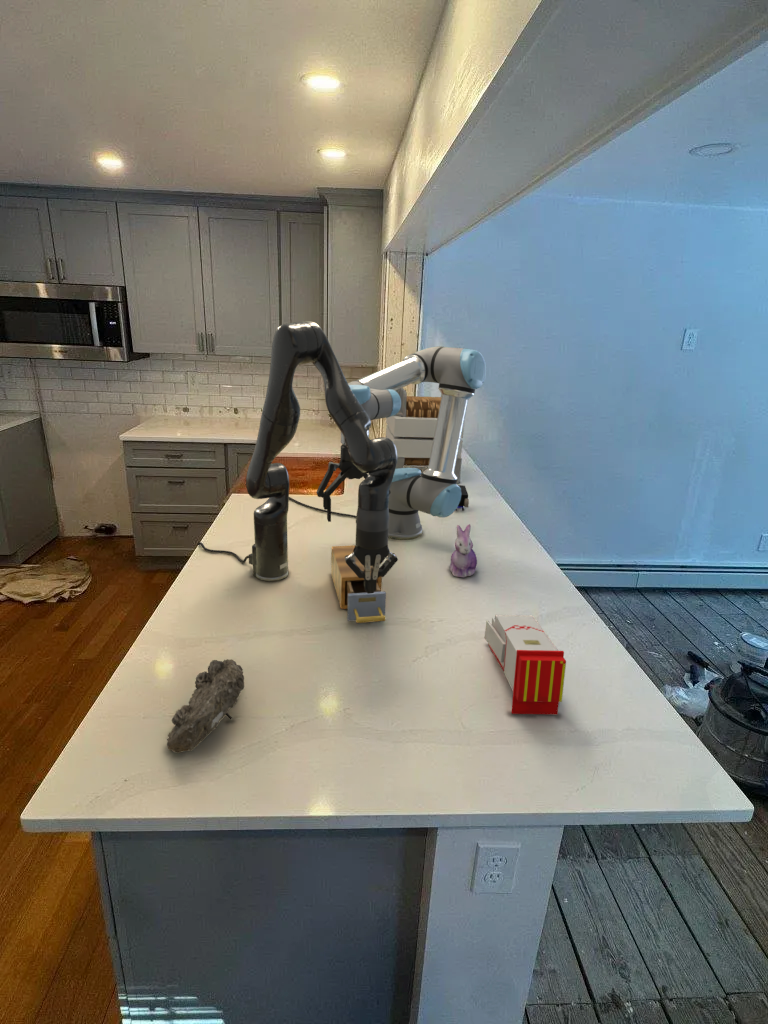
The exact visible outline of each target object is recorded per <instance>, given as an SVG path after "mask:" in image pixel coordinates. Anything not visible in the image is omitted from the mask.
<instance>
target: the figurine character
mask: <svg viewBox="0 0 768 1024" xmlns="http://www.w3.org/2000/svg"><path fill="white" fill-rule="evenodd" d="M457 485H458V486H459V487H460V488H461V500H460V502H459V505H458V507H457V508H456V510H455V511H456V512H457V511H458V509H461V511H462V512H464V511H465V508H469V505H470V500H469V492H468V490H467V488H466V485H464V484H463V485H461V484H457Z"/></svg>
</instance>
